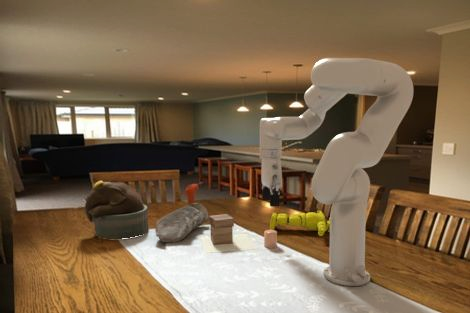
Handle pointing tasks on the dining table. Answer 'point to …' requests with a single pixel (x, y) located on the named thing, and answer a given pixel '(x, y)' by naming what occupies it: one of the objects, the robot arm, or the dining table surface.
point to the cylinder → (270, 239)
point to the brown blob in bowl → (116, 211)
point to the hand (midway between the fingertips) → (270, 203)
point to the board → (238, 244)
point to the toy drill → (192, 192)
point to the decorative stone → (181, 222)
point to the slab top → (221, 221)
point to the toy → (302, 221)
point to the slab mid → (222, 231)
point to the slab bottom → (221, 240)
